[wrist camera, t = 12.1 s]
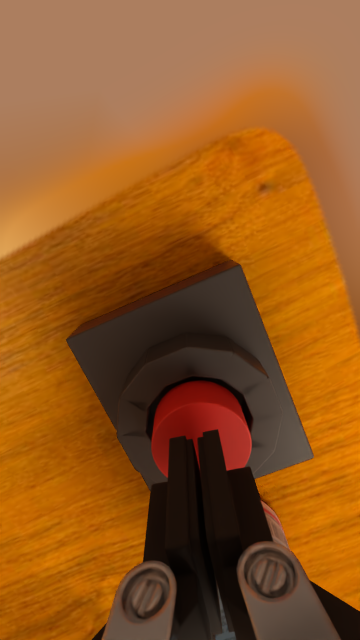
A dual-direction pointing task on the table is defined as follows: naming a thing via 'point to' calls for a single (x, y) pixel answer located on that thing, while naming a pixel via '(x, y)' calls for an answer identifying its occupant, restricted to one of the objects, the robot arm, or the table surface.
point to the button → (201, 422)
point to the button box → (191, 366)
